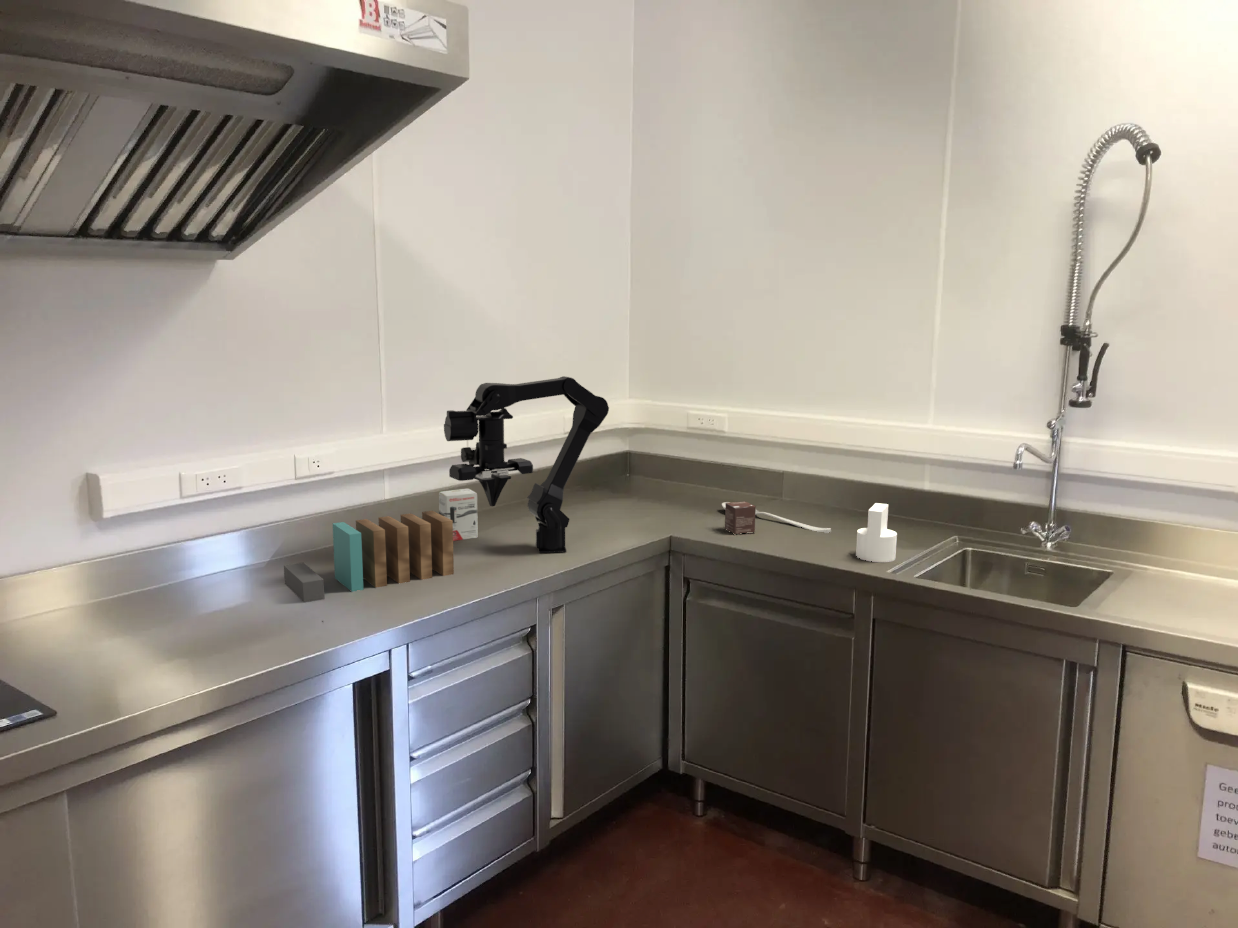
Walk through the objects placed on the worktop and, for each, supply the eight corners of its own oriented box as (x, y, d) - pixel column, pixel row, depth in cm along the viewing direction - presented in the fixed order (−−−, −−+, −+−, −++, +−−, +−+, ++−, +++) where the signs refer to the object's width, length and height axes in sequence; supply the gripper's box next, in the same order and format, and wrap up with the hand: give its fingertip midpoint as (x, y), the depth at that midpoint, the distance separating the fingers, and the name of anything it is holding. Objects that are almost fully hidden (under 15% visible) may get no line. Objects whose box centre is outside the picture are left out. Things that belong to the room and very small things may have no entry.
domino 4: (412, 565, 203) (410, 513, 201) (432, 577, 194) (430, 523, 192) (402, 567, 202) (400, 514, 199) (421, 579, 193) (419, 524, 191)
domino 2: (368, 572, 197) (366, 519, 195) (387, 585, 188) (384, 529, 186) (358, 574, 196) (355, 520, 194) (375, 587, 187) (373, 531, 185)
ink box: (446, 542, 222) (445, 495, 220) (438, 537, 227) (437, 491, 224) (478, 537, 227) (477, 491, 225) (470, 533, 231) (469, 488, 229)
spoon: (714, 513, 257) (714, 504, 256) (731, 508, 262) (731, 499, 262) (821, 541, 233) (821, 531, 232) (837, 535, 239) (838, 526, 238)
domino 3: (391, 568, 200) (389, 516, 198) (409, 581, 191) (408, 526, 189) (380, 570, 199) (378, 517, 197) (399, 583, 190) (397, 528, 188)
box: (745, 528, 240) (745, 501, 238) (755, 533, 234) (756, 506, 233) (724, 529, 238) (724, 502, 236) (733, 535, 232) (734, 507, 231)
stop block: (304, 580, 191) (303, 562, 190) (324, 598, 180) (323, 579, 179) (284, 583, 189) (283, 565, 188) (303, 602, 177) (302, 582, 177)
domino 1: (346, 576, 195) (343, 521, 192) (363, 589, 186) (361, 533, 184) (334, 578, 193) (332, 523, 191) (351, 591, 184) (349, 534, 182)
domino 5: (433, 562, 206) (432, 510, 204) (453, 574, 197) (452, 520, 195) (423, 563, 204) (422, 511, 202) (443, 575, 195) (442, 521, 193)
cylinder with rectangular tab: (860, 549, 220) (862, 501, 217) (898, 554, 216) (901, 505, 214) (852, 559, 212) (855, 509, 210) (891, 564, 208) (895, 513, 206)
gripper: (511, 431, 217) (511, 495, 220) (438, 437, 207) (440, 504, 210) (534, 437, 208) (534, 503, 211) (459, 444, 198) (460, 513, 201)
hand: (492, 505), depth 209 cm, fingers closed
